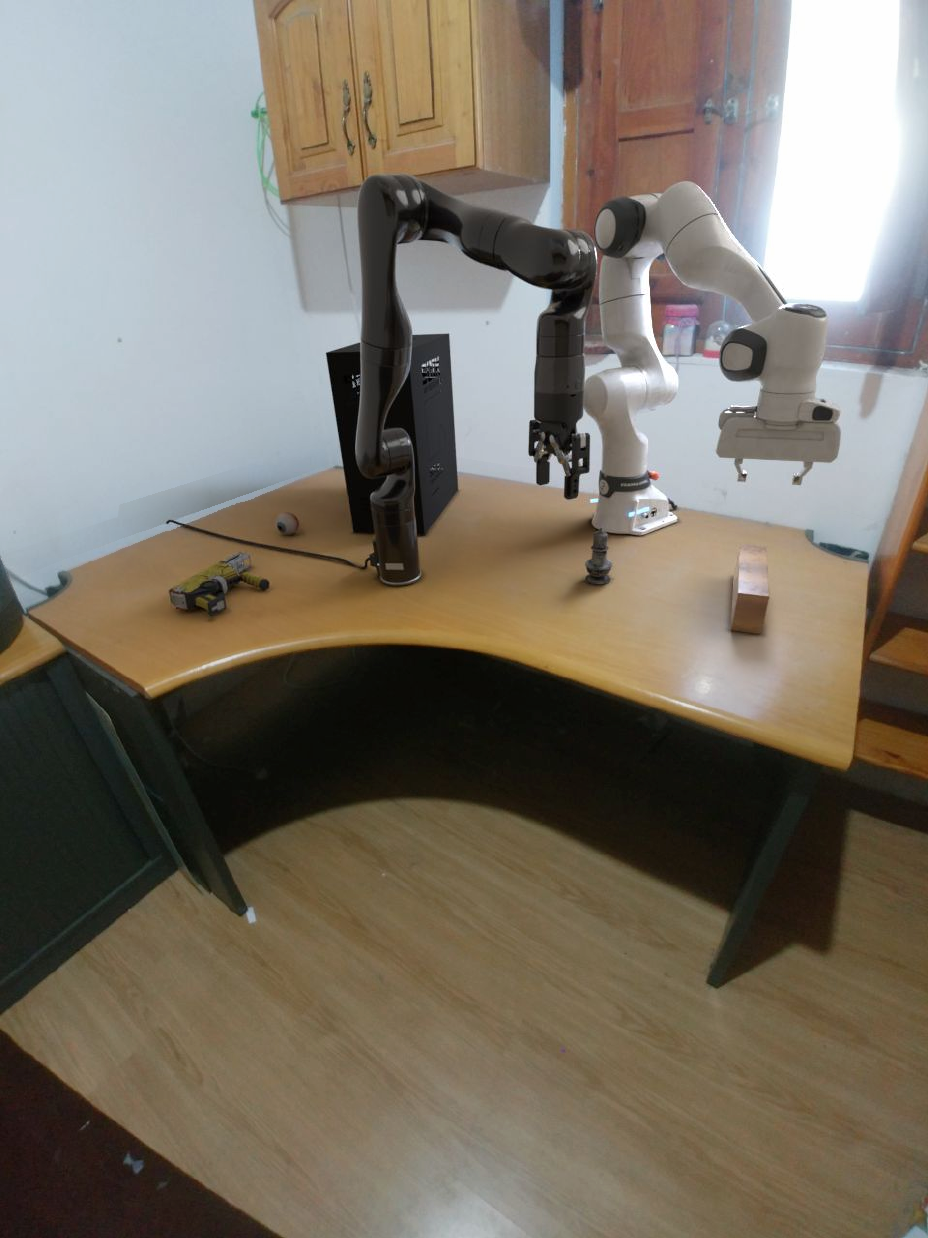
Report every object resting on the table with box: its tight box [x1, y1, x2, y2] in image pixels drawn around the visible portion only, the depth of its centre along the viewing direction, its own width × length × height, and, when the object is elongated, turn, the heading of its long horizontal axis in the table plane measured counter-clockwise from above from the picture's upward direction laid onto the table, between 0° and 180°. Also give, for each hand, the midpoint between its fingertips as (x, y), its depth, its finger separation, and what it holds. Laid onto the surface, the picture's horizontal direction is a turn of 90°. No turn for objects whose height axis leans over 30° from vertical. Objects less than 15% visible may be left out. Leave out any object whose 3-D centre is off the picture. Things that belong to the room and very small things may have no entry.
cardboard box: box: [325, 333, 459, 536], centre depth 166 cm, size 38×20×45 cm, turn 167°
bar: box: [730, 543, 770, 635], centre depth 118 cm, size 23×5×8 cm, turn 158°
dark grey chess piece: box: [584, 527, 614, 585], centre depth 129 cm, size 6×6×12 cm
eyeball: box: [275, 511, 300, 536], centre depth 163 cm, size 6×6×6 cm
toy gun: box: [168, 551, 270, 617], centre depth 135 cm, size 5×24×15 cm
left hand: (556, 491), depth 99 cm, fingers open, 8 cm apart
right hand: (768, 482), depth 114 cm, fingers open, 8 cm apart
